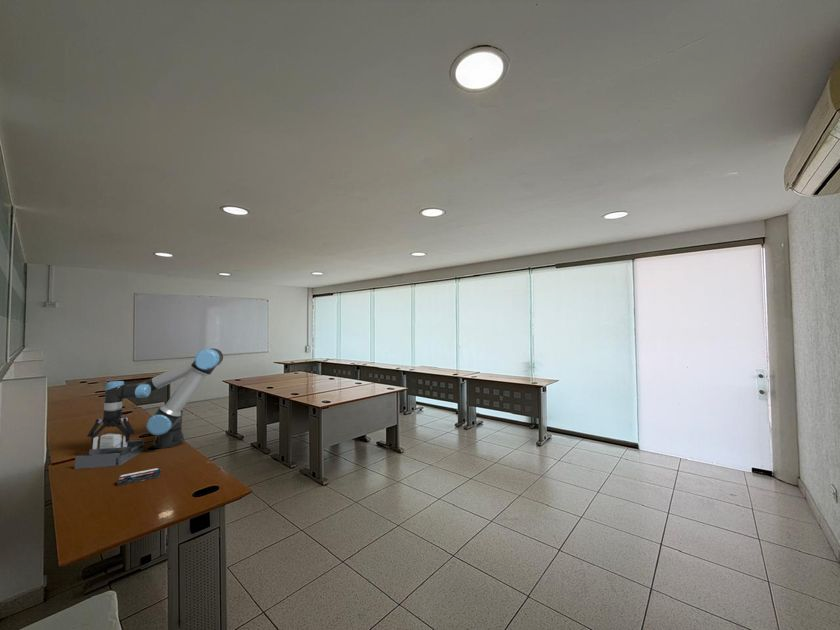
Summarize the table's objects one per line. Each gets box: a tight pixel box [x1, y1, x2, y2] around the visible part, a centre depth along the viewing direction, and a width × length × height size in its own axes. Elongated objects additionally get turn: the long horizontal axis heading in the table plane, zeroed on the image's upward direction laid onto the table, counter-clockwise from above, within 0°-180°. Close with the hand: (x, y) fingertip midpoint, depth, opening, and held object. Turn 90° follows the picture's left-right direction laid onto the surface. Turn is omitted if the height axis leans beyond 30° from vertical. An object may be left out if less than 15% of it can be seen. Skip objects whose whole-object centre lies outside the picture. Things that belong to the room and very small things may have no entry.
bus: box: [116, 467, 162, 487], centre depth 153 cm, size 14×25×4 cm, turn 129°
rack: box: [74, 439, 145, 470], centre depth 178 cm, size 19×22×6 cm
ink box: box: [98, 432, 124, 449], centre depth 182 cm, size 9×5×12 cm, turn 84°
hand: (110, 448), depth 182 cm, fingers open, 13 cm apart
